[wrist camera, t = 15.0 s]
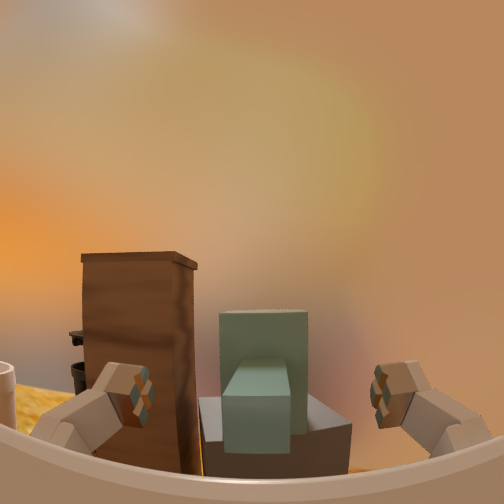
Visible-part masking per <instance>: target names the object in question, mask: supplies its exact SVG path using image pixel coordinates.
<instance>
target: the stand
mask: <svg viewBox="0 0 504 504" xmlns="http://www.w3.org/2000/svg"><path fill="white" fill-rule="evenodd" d="M81 262H82V263H83V284H82V285H83V287H82V319H83V347H84V363H85V376H86V386H87V389H92V387H93V386H94V384H95V382H96V381H97V379H98V377H99V376H100V374H101V372H102V371H103V369H104V367H105V366H106V364H107V363H109V362H115V363H124V364H131V365H139V366H145V367H147V368H148V371H149V377H148V379H149V380H150V381H151V382H152V383H153V387H154V401H153V404H152V407H150V408H149V409H148V410H147V413H148V418H147V420H146V423H145V426H144V428H137V427H130V426H123V425H122V426H123V427H122V428H121V429H119V430H118V431H117V432H116V433H115V434H114V435H112V436H111V437H110V438H109V439H108V440H106V441H105V442H104V443H103V444H102V445H100V446H99V447H98V448H97V449H96V455H97V458H101V459H105V460H109V461H113V462H118V463H122V464H127V465H132V466H137V467H142V468H147V469H153V470H159V471H165V472H172V473H179V474H187V475H196V476H202V471H201V460H200V447H199V433H198V417H197V399H196V379H195V351H194V299H193V298H194V295H193V293H194V292H193V270H197V262H195V261H193V260H191V259H189V258H187V257H185V256H183V255H181V254H179V253H177V252H175V251H165V252H129V253H128V252H127V253H90V254H81Z"/></svg>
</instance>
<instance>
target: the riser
mask: <svg viewBox="0 0 504 504" xmlns="http://www.w3.org/2000/svg"><path fill="white" fill-rule="evenodd" d="M198 401H199V418H200V435H201V449H202V462H203V474H204V476H207V477H219V478H237V479H296V478H313V477H326V476H336V475H345V474H348V467H349V457H350V446H351V434H352V423H351V422H350V421H348V420H347V419H345V418H343V417H342V416H340V415H339V414H337V413H336V412H334V411H333V410H331V409H330V408H328V407H327V406H325V405H324V404H322V403H321V402H320V401H318V400H317V399H315V398H314V397H312V396H311V395H309V394H308V408H307V434H302V435H290V453H286V454H243V453H225V451H224V434H223V432H222V408H221V397H199V398H198Z"/></svg>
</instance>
